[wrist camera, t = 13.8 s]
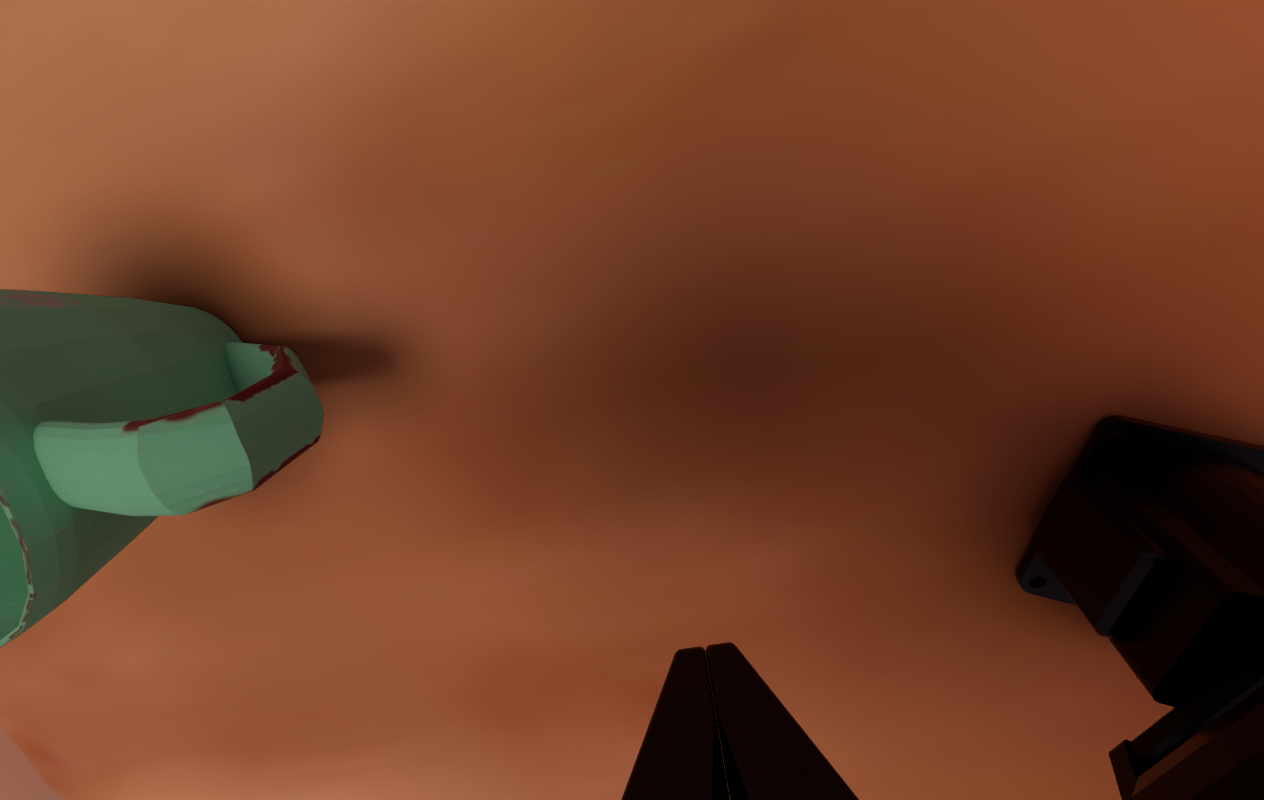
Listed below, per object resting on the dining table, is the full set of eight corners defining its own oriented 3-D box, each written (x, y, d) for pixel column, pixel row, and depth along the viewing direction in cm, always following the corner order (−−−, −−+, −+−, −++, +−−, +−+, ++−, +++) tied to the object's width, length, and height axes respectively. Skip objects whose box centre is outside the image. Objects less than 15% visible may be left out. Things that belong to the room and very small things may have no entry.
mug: (157, 478, 26) (-162, 648, 17) (50, 255, 23) (-423, 318, 13) (455, 467, 23) (258, 671, 14) (383, 203, 19) (54, 241, 10)
